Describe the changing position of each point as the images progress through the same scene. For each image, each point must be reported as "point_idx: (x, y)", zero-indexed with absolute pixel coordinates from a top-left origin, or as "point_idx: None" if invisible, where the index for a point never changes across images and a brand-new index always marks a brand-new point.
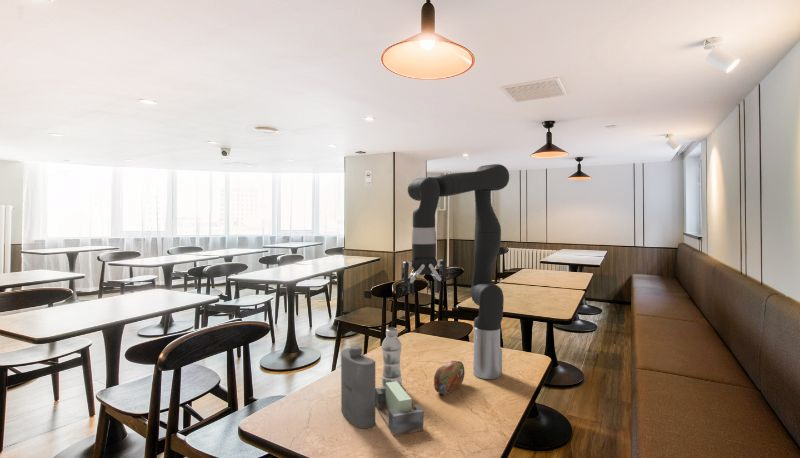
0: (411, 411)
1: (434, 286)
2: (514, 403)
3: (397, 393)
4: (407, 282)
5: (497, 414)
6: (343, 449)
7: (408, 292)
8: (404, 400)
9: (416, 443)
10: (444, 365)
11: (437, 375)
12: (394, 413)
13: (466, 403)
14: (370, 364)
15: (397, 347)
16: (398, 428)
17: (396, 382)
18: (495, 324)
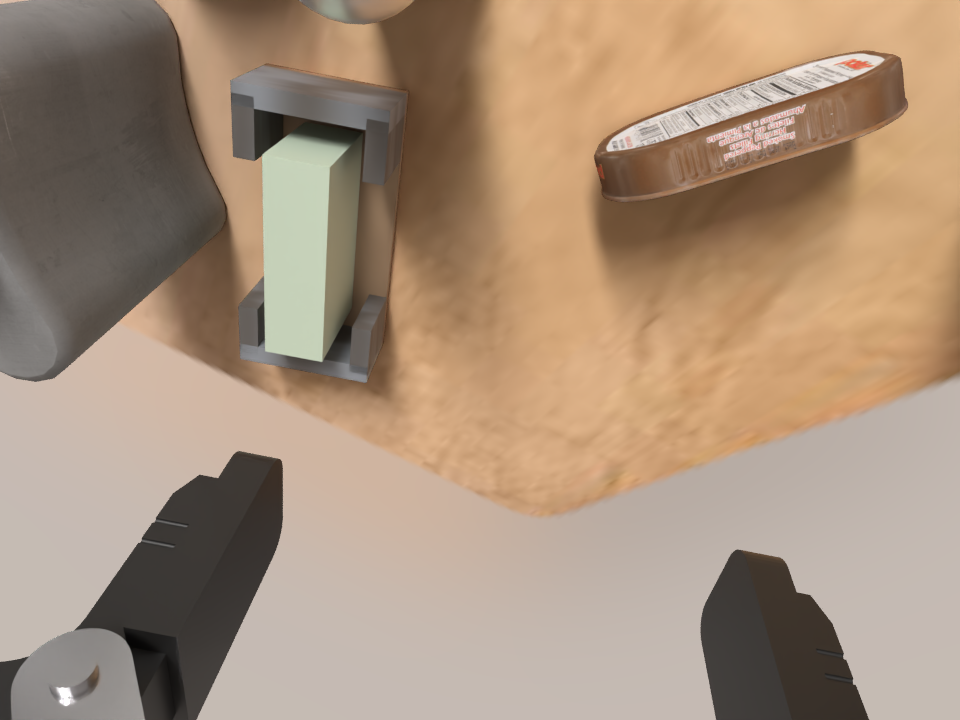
0: (321, 363)
1: (764, 635)
2: (847, 377)
3: (281, 291)
4: (59, 646)
5: (705, 398)
6: None
7: (194, 486)
8: (289, 355)
9: (327, 386)
10: (724, 133)
11: (616, 177)
12: (251, 343)
13: (672, 275)
14: (34, 379)
15: (366, 22)
16: None
17: (322, 182)
18: None
